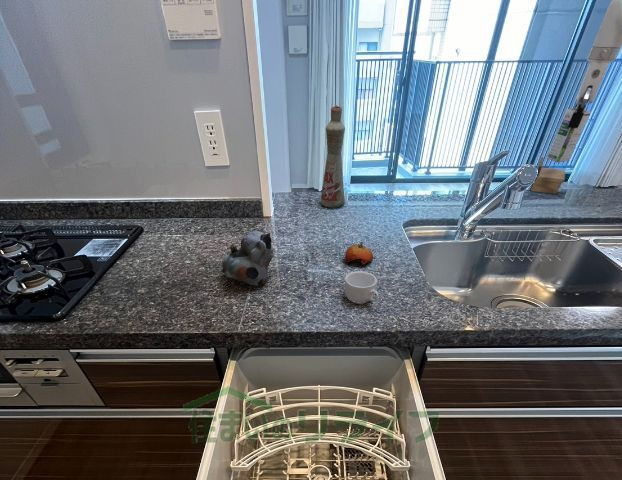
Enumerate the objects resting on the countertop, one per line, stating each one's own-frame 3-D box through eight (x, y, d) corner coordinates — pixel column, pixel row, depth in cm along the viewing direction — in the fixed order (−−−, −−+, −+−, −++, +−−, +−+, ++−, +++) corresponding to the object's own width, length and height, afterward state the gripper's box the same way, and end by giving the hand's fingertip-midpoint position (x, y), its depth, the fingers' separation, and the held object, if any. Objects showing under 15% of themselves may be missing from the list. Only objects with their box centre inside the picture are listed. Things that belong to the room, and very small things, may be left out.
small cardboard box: (558, 184, 145) (569, 160, 139) (557, 194, 138) (569, 169, 131) (531, 181, 148) (541, 157, 141) (529, 190, 141) (539, 166, 134)
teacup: (337, 298, 92) (338, 278, 88) (359, 287, 95) (361, 268, 91) (365, 315, 87) (367, 295, 83) (387, 304, 90) (390, 283, 86)
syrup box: (545, 158, 136) (565, 109, 125) (557, 156, 138) (578, 107, 127) (557, 163, 133) (579, 112, 122) (569, 160, 134) (592, 110, 123)
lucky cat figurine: (220, 269, 102) (232, 216, 96) (261, 283, 106) (276, 232, 100) (219, 280, 89) (233, 220, 83) (266, 295, 93) (283, 239, 87)
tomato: (381, 258, 102) (367, 241, 97) (364, 279, 104) (349, 263, 99) (366, 251, 108) (352, 234, 103) (351, 270, 109) (336, 255, 105)
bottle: (349, 206, 132) (356, 106, 111) (327, 210, 129) (329, 109, 108) (337, 198, 137) (342, 101, 116) (316, 202, 134) (316, 104, 113)
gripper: (617, 58, 108) (584, 131, 121) (614, 52, 118) (584, 120, 132) (589, 57, 110) (560, 129, 124) (588, 51, 121) (561, 119, 134)
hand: (572, 124), depth 128 cm, fingers closed on syrup box, 8 cm apart
